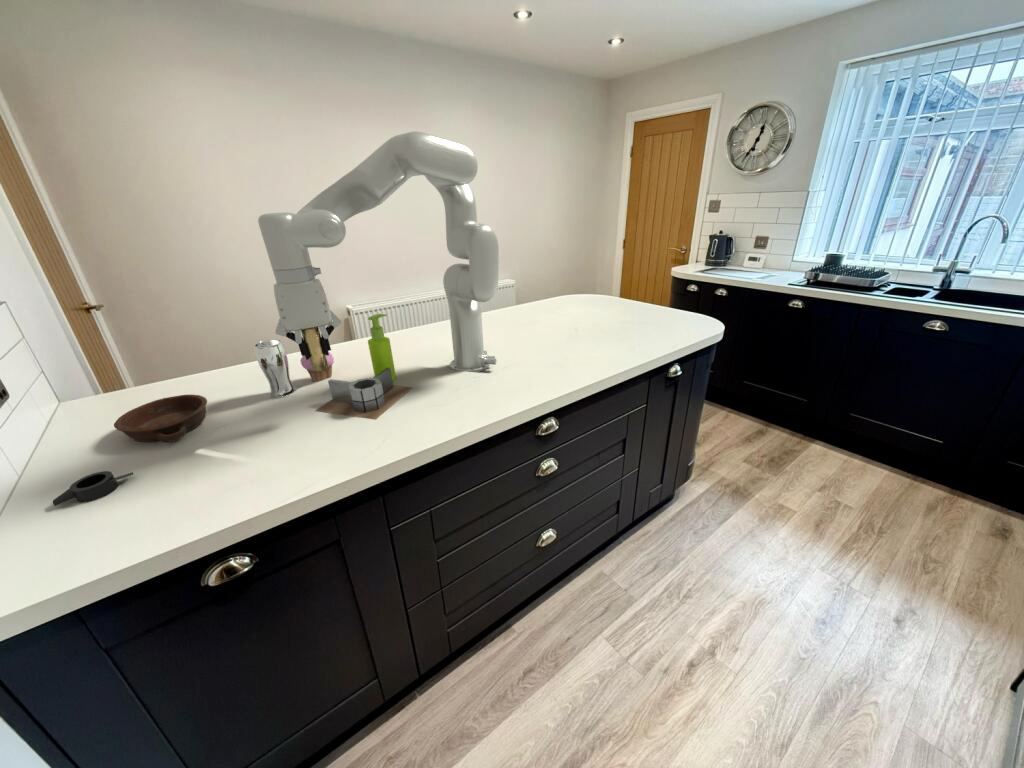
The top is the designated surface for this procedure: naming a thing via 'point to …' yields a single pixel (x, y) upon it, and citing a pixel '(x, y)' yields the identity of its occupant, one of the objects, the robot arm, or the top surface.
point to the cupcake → (318, 375)
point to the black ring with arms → (91, 487)
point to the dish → (163, 418)
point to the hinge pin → (315, 348)
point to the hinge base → (348, 410)
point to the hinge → (363, 391)
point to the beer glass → (275, 366)
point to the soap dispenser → (380, 348)
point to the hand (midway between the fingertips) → (317, 355)
